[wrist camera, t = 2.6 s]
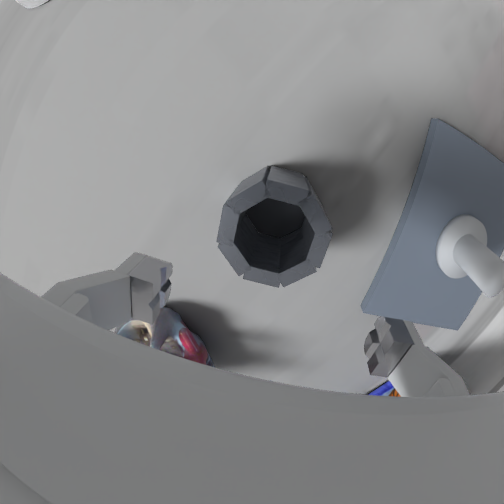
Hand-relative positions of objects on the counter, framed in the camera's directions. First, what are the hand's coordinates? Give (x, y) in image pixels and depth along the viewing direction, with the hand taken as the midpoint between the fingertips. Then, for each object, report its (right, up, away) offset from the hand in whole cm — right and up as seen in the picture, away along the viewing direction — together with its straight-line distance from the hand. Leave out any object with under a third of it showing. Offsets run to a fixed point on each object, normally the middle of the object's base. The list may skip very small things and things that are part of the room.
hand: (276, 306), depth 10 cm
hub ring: (+1, +5, +9) cm, 10 cm away
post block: (+16, +3, +8) cm, 18 cm away
